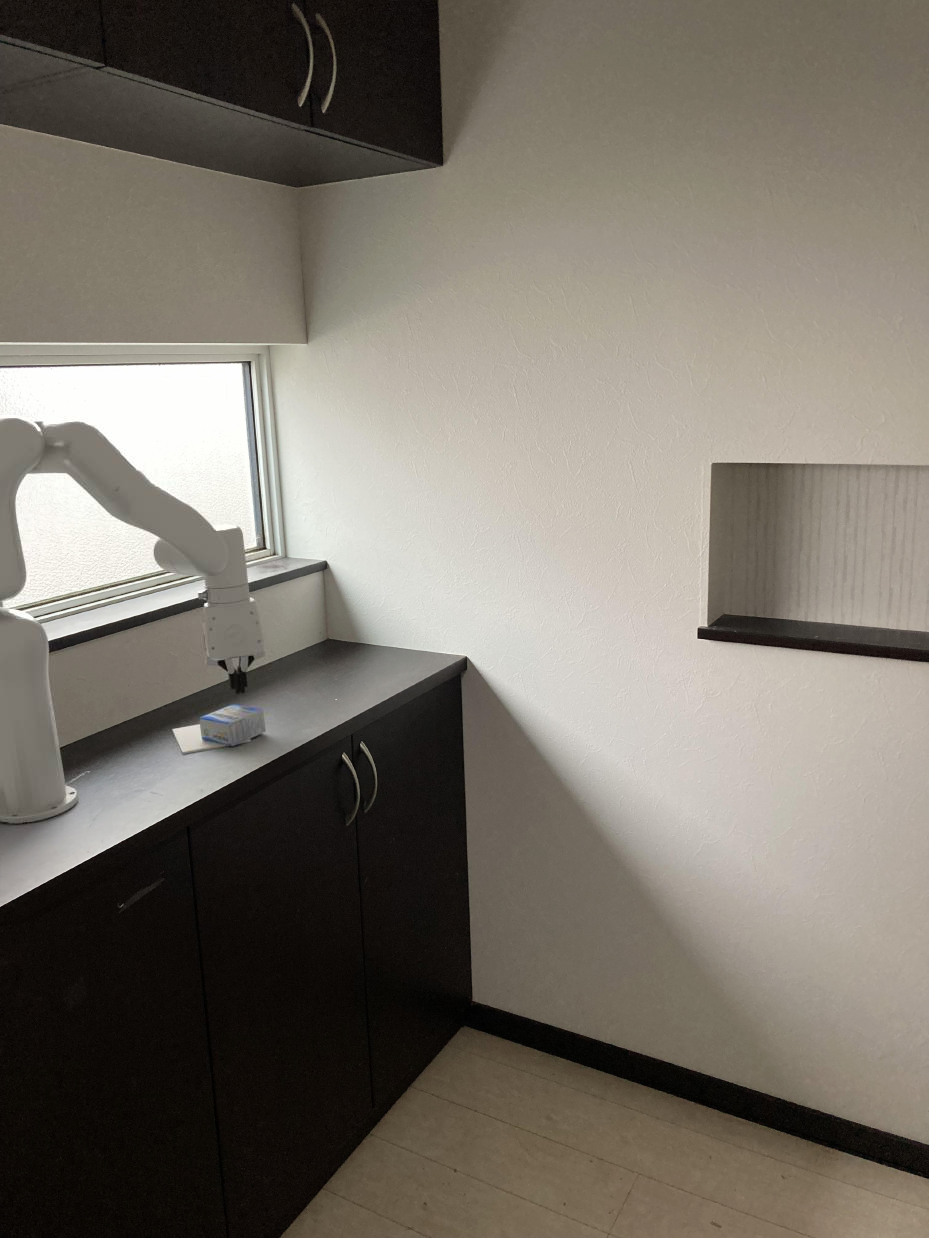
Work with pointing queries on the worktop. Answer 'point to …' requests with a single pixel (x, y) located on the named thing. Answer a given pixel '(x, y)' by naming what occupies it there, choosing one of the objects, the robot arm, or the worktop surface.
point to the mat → (195, 740)
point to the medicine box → (232, 724)
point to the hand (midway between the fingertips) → (239, 691)
